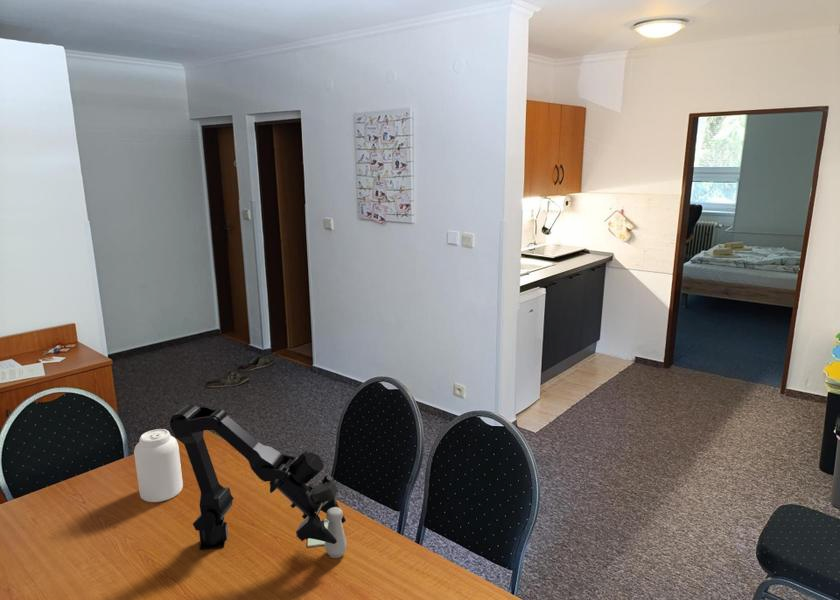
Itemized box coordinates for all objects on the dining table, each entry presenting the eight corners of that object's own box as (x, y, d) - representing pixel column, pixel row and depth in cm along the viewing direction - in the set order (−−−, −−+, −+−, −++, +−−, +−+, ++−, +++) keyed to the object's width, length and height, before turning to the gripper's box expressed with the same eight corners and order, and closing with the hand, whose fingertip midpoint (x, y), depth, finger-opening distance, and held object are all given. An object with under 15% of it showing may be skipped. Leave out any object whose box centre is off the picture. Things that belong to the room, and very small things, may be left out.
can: (191, 488, 183) (185, 431, 178) (155, 508, 173) (147, 448, 168) (167, 477, 189) (160, 421, 184) (131, 495, 179) (123, 437, 174)
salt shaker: (342, 562, 150) (341, 518, 146) (322, 559, 151) (319, 515, 147) (349, 547, 155) (348, 505, 152) (329, 544, 156) (327, 502, 153)
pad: (307, 546, 155) (307, 544, 155) (307, 522, 165) (307, 521, 165) (341, 542, 157) (341, 541, 157) (339, 519, 167) (339, 517, 167)
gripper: (306, 494, 139) (352, 537, 140) (328, 455, 157) (368, 494, 158) (276, 520, 142) (322, 562, 143) (301, 479, 160) (341, 517, 161)
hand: (340, 531), depth 151 cm, fingers open, 8 cm apart
